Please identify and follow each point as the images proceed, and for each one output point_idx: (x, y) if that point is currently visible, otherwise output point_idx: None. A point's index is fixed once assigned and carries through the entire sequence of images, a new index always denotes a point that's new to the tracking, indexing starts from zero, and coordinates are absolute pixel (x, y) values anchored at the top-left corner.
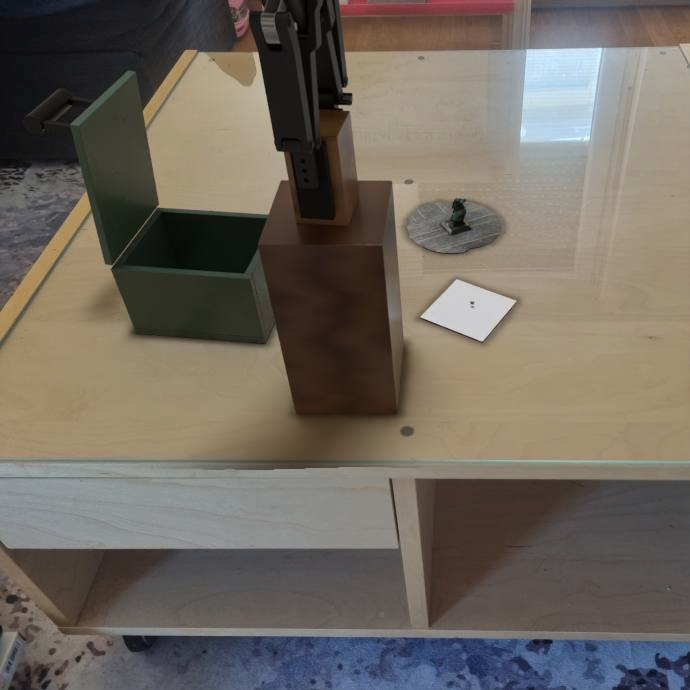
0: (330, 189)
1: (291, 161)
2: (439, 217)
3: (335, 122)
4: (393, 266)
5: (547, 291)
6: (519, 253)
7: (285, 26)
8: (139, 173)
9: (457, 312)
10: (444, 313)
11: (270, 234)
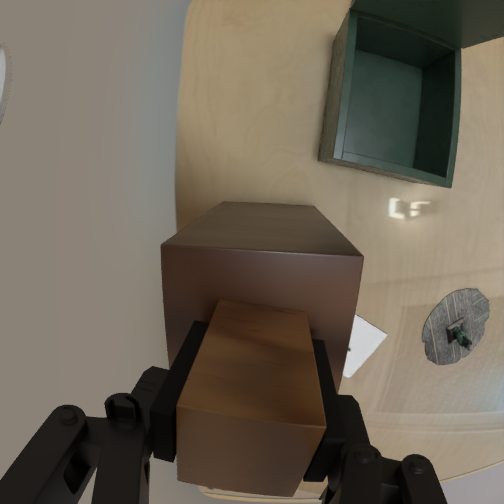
0: None
1: (163, 384)
2: (471, 316)
3: (240, 483)
4: None
5: (357, 396)
6: (408, 378)
7: None
8: (467, 23)
9: None
10: None
11: (187, 261)
